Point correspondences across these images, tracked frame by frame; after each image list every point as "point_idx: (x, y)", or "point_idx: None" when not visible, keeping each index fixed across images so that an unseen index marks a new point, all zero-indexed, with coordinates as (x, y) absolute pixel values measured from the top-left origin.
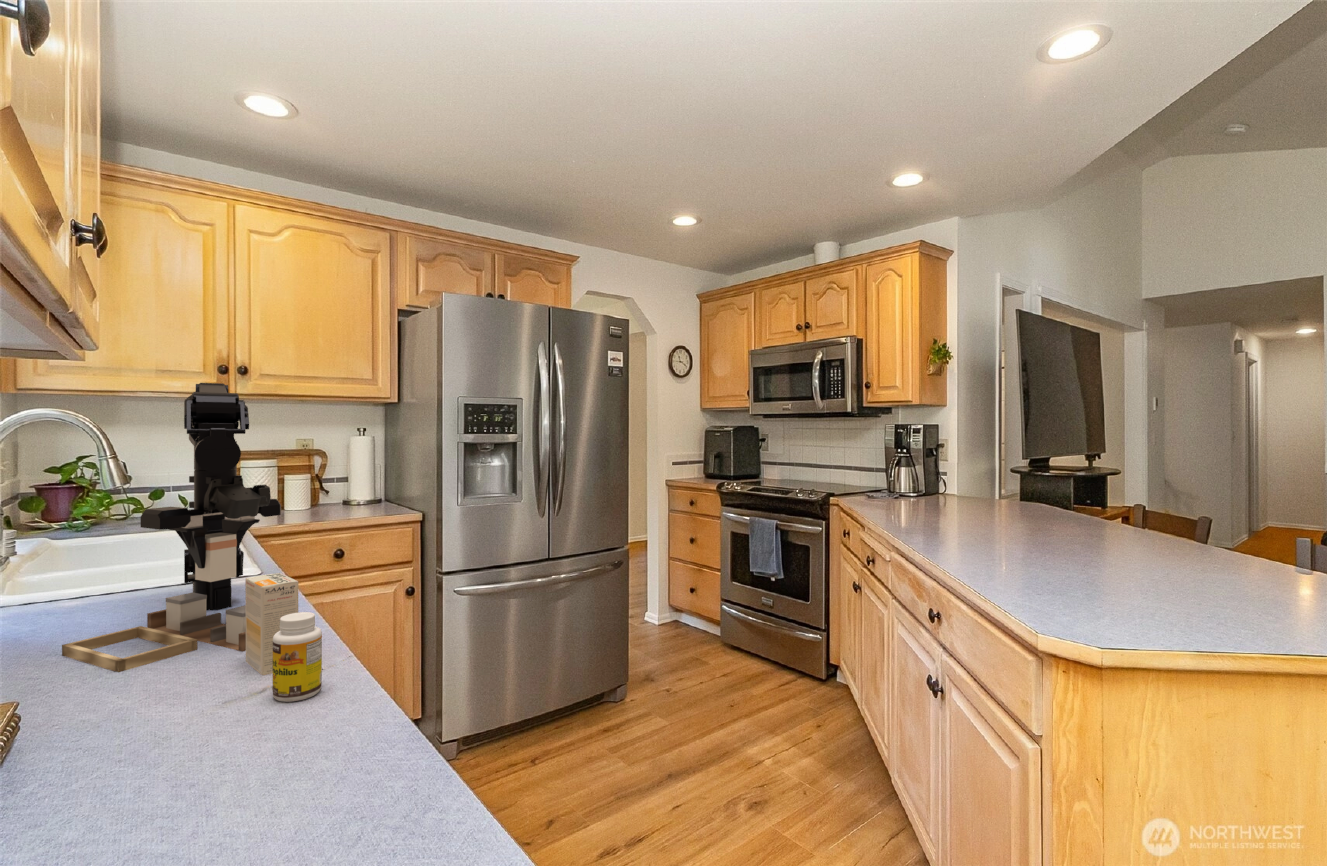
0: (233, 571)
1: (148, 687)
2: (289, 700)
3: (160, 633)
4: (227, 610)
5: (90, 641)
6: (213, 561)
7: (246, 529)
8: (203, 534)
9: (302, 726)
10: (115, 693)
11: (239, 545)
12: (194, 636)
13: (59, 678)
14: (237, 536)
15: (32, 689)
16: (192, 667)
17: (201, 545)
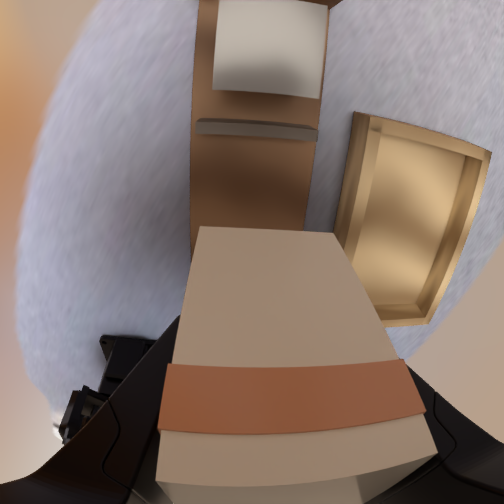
0: (211, 244)
1: (479, 60)
2: None
3: (356, 247)
4: (319, 88)
5: (402, 316)
6: (352, 298)
7: (36, 482)
8: (483, 470)
9: None
10: (500, 92)
11: (120, 385)
12: (290, 213)
13: (470, 236)
14: (127, 456)
15: (498, 225)
16: (403, 59)
17: (434, 411)
